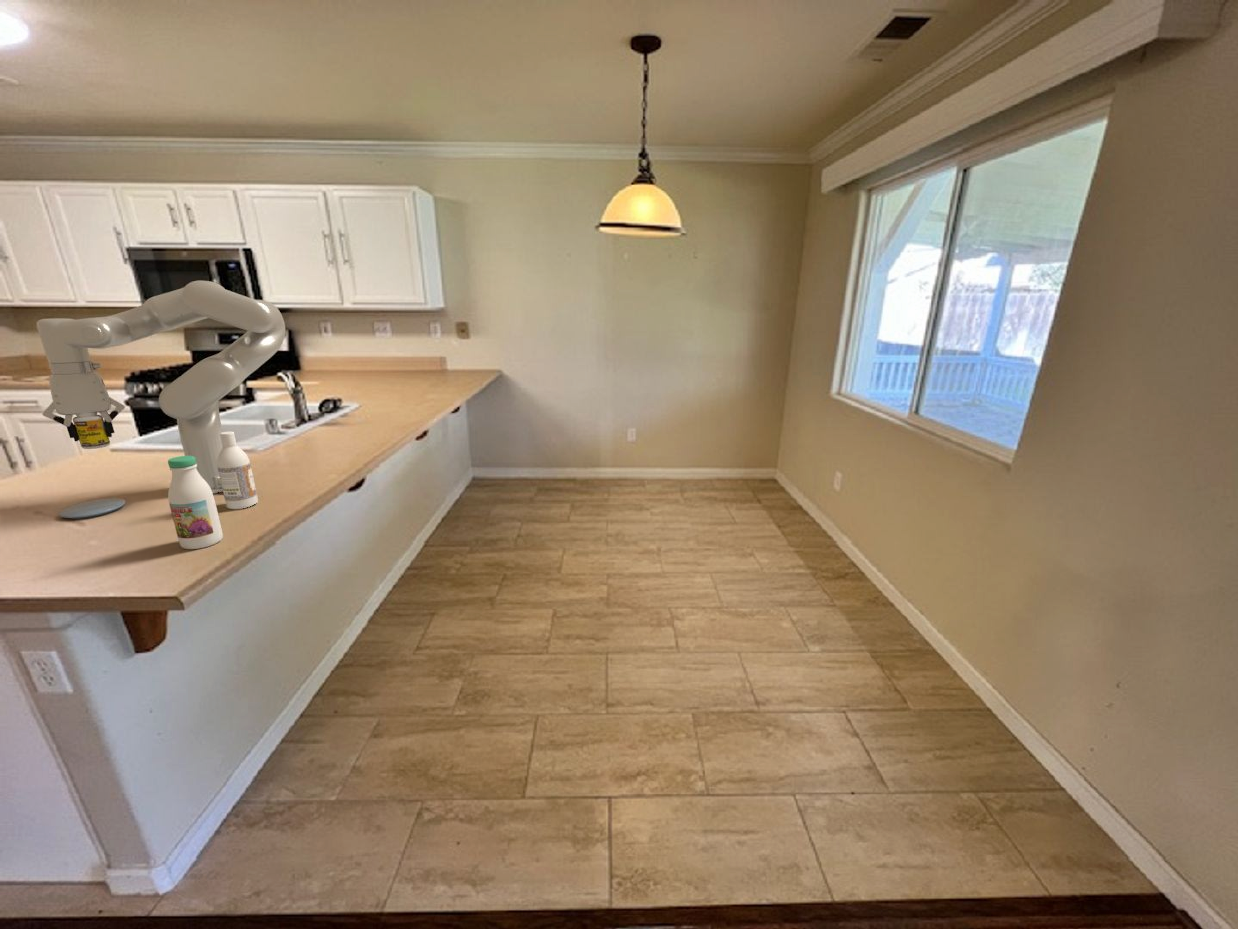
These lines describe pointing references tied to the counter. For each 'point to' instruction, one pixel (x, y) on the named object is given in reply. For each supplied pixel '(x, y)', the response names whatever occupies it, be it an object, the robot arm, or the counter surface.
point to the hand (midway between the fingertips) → (93, 437)
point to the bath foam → (235, 474)
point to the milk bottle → (192, 505)
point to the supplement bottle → (91, 430)
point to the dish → (92, 508)
